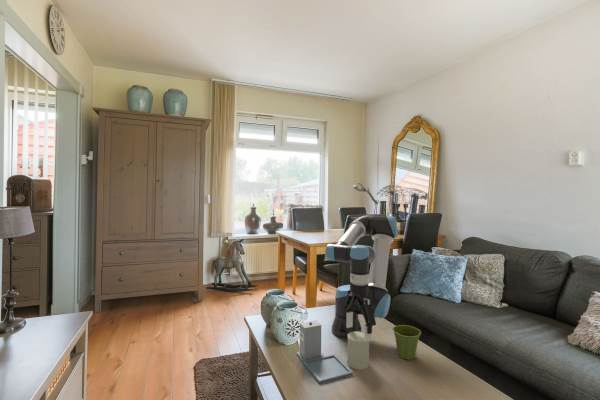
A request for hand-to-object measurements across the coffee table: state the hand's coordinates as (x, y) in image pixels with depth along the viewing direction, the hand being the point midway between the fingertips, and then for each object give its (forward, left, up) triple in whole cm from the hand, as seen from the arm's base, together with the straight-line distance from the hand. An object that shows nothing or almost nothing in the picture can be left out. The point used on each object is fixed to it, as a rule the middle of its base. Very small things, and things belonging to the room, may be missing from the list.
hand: (358, 333), depth 131 cm
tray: (+14, -1, -13) cm, 19 cm away
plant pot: (-23, +3, -13) cm, 27 cm away
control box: (+16, -13, -13) cm, 24 cm away
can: (0, 0, -13) cm, 13 cm away
